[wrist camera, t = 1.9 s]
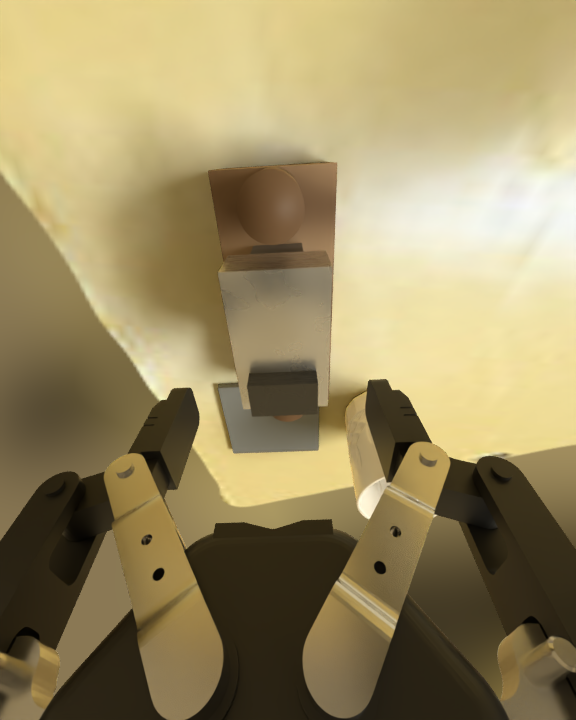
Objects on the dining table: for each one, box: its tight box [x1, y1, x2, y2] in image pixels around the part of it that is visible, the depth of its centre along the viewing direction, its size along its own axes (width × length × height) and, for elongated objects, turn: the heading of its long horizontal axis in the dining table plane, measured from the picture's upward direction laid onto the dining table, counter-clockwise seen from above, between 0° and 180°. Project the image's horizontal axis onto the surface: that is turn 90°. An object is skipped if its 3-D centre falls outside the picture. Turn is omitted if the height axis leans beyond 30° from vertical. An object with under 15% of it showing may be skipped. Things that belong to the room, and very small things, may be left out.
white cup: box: [345, 391, 437, 519], centre depth 28 cm, size 8×8×10 cm
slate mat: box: [218, 384, 319, 453], centre depth 32 cm, size 10×10×1 cm
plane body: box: [208, 162, 337, 422], centre depth 20 cm, size 17×7×8 cm, turn 3°
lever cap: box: [218, 250, 333, 417], centre depth 17 cm, size 9×6×4 cm, turn 3°
